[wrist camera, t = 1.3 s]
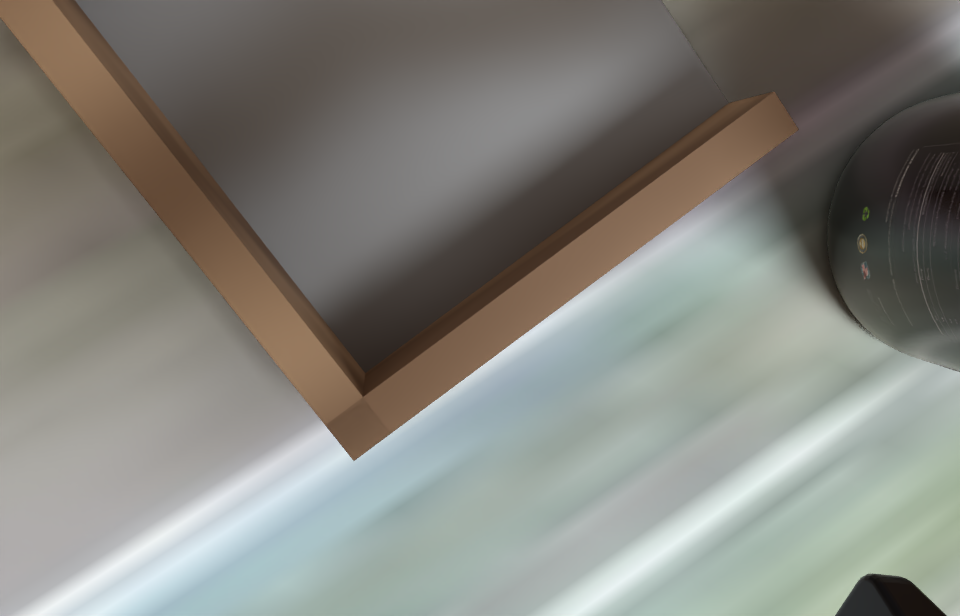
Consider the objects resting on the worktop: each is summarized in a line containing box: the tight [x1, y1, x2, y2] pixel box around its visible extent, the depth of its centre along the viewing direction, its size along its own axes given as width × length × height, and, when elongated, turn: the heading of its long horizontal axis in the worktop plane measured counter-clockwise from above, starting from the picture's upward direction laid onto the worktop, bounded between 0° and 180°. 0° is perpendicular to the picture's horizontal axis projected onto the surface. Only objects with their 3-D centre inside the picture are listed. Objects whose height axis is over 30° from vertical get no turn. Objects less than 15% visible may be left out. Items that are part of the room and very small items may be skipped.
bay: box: [0, 0, 799, 461], centre depth 20 cm, size 13×12×3 cm
